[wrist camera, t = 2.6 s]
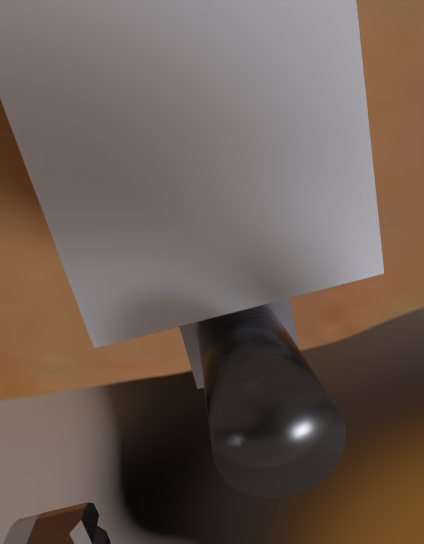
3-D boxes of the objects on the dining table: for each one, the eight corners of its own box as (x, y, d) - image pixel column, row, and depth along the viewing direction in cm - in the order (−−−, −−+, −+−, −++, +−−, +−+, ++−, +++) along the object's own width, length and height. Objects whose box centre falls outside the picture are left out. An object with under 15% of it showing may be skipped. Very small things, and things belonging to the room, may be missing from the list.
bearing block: (102, 105, 22) (-36, 4, 8) (235, 72, 22) (347, -88, 8) (142, 236, 24) (94, 348, 10) (262, 206, 24) (384, 273, 10)
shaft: (43, -179, 11) (-283, -1010, 3) (171, -209, 11) (162, -1087, 3) (193, 350, 17) (210, 525, 9) (280, 327, 17) (374, 481, 9)
